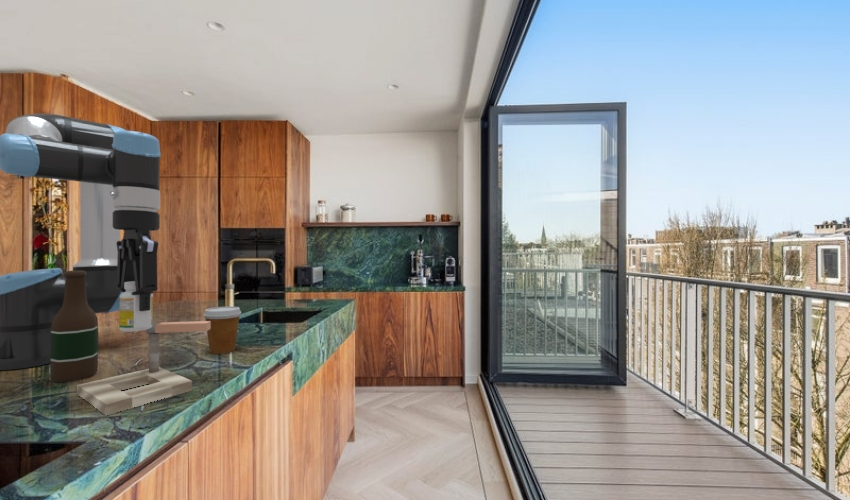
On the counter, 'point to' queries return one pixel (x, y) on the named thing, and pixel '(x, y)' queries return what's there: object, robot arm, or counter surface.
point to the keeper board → (135, 385)
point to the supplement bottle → (130, 309)
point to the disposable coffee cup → (222, 328)
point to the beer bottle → (74, 333)
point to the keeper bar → (179, 327)
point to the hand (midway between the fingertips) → (136, 325)
